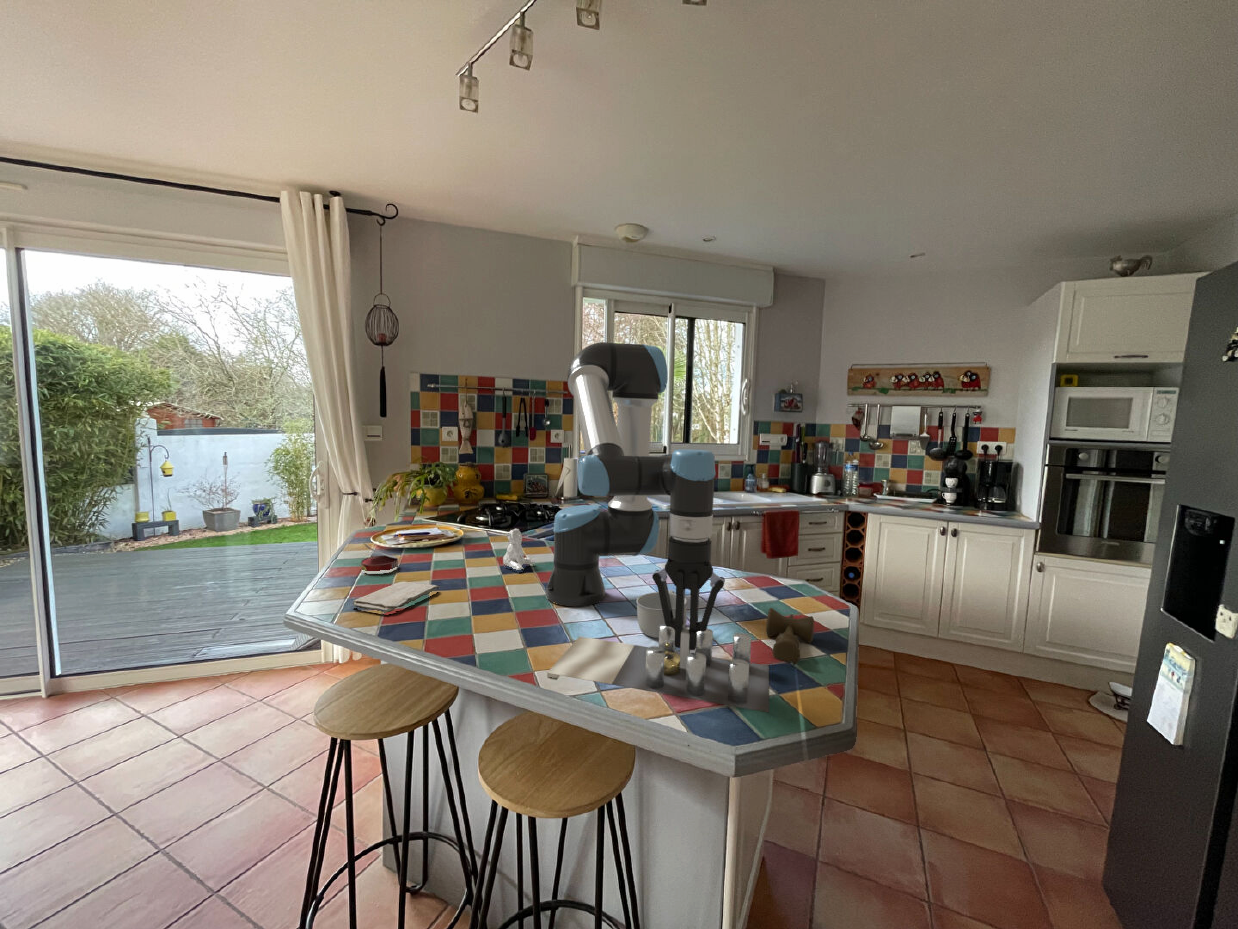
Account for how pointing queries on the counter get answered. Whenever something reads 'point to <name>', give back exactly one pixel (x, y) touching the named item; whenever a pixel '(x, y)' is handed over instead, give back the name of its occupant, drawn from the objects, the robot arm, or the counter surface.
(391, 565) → the red and clear bowl
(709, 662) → the steel spacers
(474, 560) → the counter surface
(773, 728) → the counter surface
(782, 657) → the kendama
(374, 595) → the washcloth
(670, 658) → the brass knob
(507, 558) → the sitting furry creature
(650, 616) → the teacup
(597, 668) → the board
